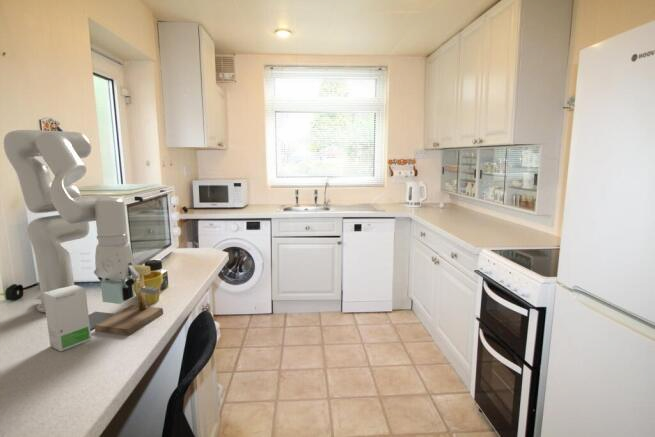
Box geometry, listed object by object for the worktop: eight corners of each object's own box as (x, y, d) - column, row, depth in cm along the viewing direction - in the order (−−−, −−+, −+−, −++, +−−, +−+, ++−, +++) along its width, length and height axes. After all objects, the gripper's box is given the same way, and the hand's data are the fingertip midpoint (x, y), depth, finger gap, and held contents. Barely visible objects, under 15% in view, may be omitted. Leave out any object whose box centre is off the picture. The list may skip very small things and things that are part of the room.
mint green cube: (102, 301, 110) (100, 282, 109) (118, 294, 116) (116, 275, 114) (119, 304, 108) (117, 284, 107) (134, 296, 114) (133, 277, 113)
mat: (65, 328, 112) (65, 326, 112) (95, 313, 123) (95, 311, 123) (89, 331, 110) (89, 329, 110) (118, 315, 121) (118, 314, 121)
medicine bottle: (160, 293, 139) (157, 263, 137) (142, 293, 140) (138, 263, 137) (169, 286, 146) (166, 257, 144) (151, 286, 147) (148, 257, 144)
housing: (95, 331, 110) (94, 325, 110) (132, 310, 125) (131, 304, 124) (129, 335, 108) (128, 329, 107) (163, 313, 122) (162, 308, 122)
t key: (155, 312, 117) (151, 269, 115) (130, 307, 121) (125, 265, 119) (161, 309, 119) (157, 267, 117) (136, 304, 124) (132, 263, 121)
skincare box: (60, 352, 99) (51, 297, 96) (48, 346, 102) (40, 292, 99) (93, 339, 106) (86, 287, 103) (81, 333, 109) (74, 283, 106)
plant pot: (151, 308, 126) (148, 281, 124) (125, 305, 128) (122, 279, 127) (170, 297, 136) (168, 271, 134) (146, 294, 138) (143, 269, 137)
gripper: (78, 240, 107) (84, 299, 110) (128, 245, 103) (133, 305, 106) (99, 235, 114) (105, 290, 117) (147, 239, 110) (151, 295, 113)
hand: (118, 297), depth 112 cm, fingers closed on mint green cube, 6 cm apart
